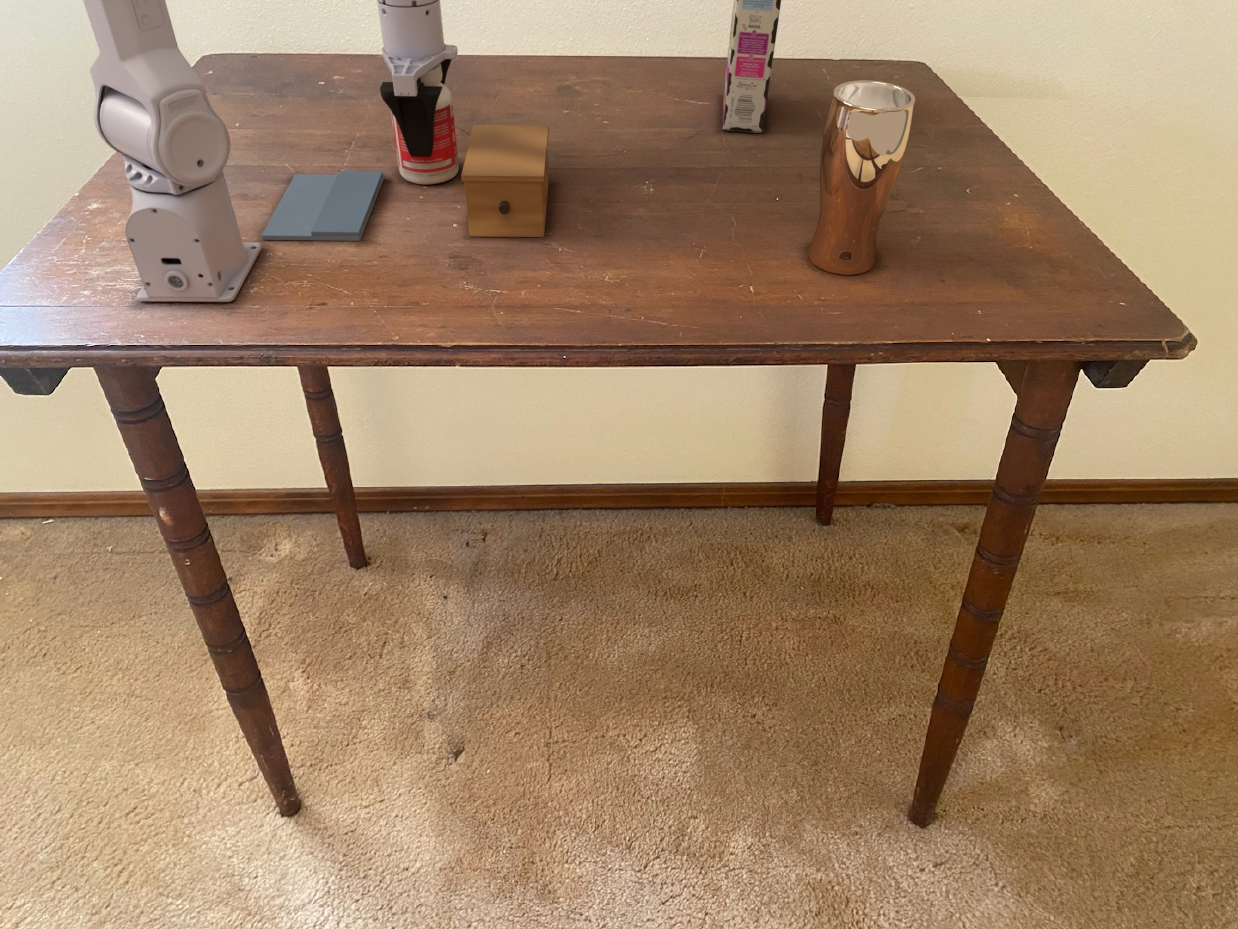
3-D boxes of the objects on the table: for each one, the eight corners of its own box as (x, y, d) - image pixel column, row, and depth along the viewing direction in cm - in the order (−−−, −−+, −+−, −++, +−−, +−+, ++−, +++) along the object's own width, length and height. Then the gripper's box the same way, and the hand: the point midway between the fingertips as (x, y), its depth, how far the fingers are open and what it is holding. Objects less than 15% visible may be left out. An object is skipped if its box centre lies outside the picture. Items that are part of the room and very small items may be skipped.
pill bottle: (469, 177, 97) (459, 68, 89) (414, 191, 94) (399, 80, 87) (443, 156, 100) (431, 49, 93) (390, 168, 98) (374, 60, 91)
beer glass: (788, 258, 86) (814, 93, 76) (830, 232, 89) (860, 72, 79) (853, 286, 82) (890, 117, 72) (893, 258, 86) (933, 94, 76)
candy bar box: (765, 134, 107) (785, -22, 96) (721, 132, 107) (737, -25, 96) (763, 98, 115) (781, -50, 104) (722, 96, 115) (737, -52, 104)
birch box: (545, 241, 87) (543, 178, 83) (466, 240, 87) (460, 177, 83) (550, 184, 96) (548, 125, 92) (478, 183, 96) (473, 124, 92)
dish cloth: (360, 240, 86) (358, 232, 86) (262, 240, 86) (260, 231, 86) (383, 179, 96) (382, 170, 95) (295, 178, 96) (294, 169, 95)
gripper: (442, 23, 81) (457, 172, 90) (460, -23, 91) (472, 114, 100) (360, 22, 80) (383, 172, 90) (388, -25, 91) (406, 113, 100)
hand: (425, 141), depth 95 cm, fingers closed on pill bottle, 6 cm apart
